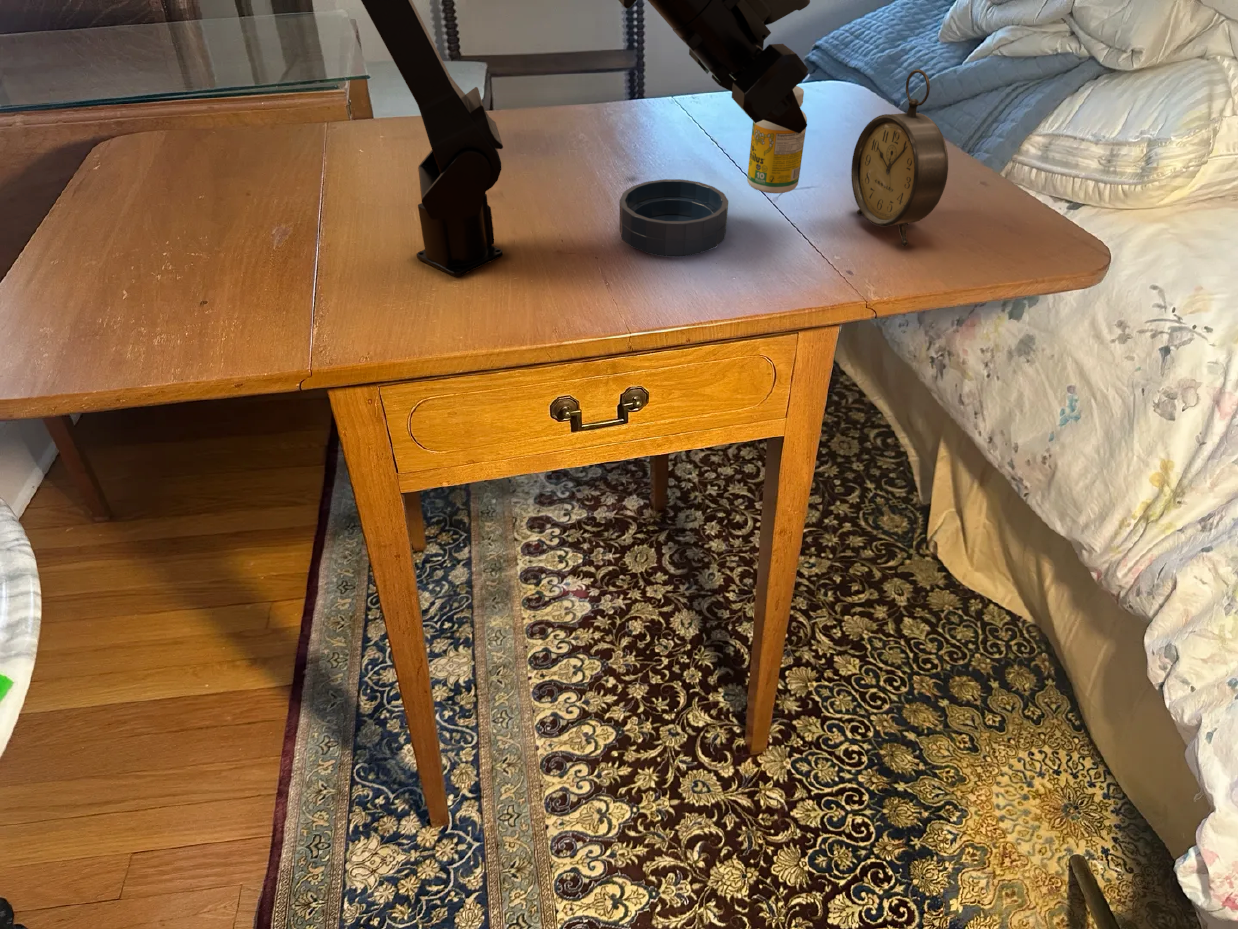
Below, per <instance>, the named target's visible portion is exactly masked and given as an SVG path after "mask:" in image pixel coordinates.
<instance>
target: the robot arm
mask: <svg viewBox="0 0 1238 929" xmlns="http://www.w3.org/2000/svg"><path fill="white" fill-rule="evenodd" d="M360 1H361V3H362V5H363V7H364V9H365V10H366V12H367V15H368V17H369V18H370V20H371V22H372V23H373V25H374V27H375V29H376V31H377V33H378V34H379V36H380V39H381V40H382V42H383V43H384V45H385V47H386V49H387V52H388V54H390V57H391V58H392V61H393V62H394V64H395V66H396V68H397V69H398V72H399V73H400V75H401V77H402V78H403V81H404V83H405V84H406V86H407V88H408V90H409V92H410V93H411V95H412V97H413V99H414V101H415V103H416V104H417V107H418V110H419V113H420V116H421V119H422V123H423V126H424V128H425V133H426V135H427V138H428V142H429V146H430V148H431V150H430V151H429V152H428V153H427V155H426V156H425V158H424V159H423V160H422V161H421V162H420V164H419V165H418V167H417V170H418V180H419V189H420V200H421V203H418V204H417V208H418V215H419V223H420V228H421V234H422V240H423V246H424V249H422V250H421V251H418V252H416V258H417V259H418V260H419V261H421V262H423V263H425V264H426V265H429V266H432V267H433V268H436V269H438V270H440V271H442V272H444V273H446V274H448V275H451V276H452V277H455V278H456V277H462V276H463V275H465V274H468V273H469V272H471V271H474V270H475V269H478V268H480V267H482V266H485V265H486V264H488V263H490V262H491V263H492V262H493V261H495V260H497V259H499V258H501V257H502V256H504V251H503V249H501V248H500V247H496V246H494V244H495V236H494V235H495V234H494V225H493V217H492V216H493V215H492V207H491V206H490V205H489V203H488V194H487V191H489V190H491V189H492V188H493V187H494V185H496V183H497V181H498V180H499V178H500V174H501V172H502V161H501V157H500V153H499V151H498V150H502V149H503V148H504V146H503V141H502V138H501V136H500V132H499V130H498V129H499V128H498V125H497V122H496V121H495V120H494V119H492V117H491V116H490V115H489V114H488V112H487V111H486V109H485V106H484V105H483V104H484V103H483V99H482V97H481V93H480V90H479V87H478V86H475V87H474V88H472V89H471V90H469V91H468V92H467V93H465V92H464V91H463V89H461V87H460V86H459V85H458V84H457V83H456V81H455V80H454V79H453V77H452V76H451V75H450V73H449V71H448V70H449V69H448V68H447V66H446V65H445V63H444V61H443V58H442V56H441V55H440V52H439V50H438V49H437V47H436V45H435V42H434V41H433V39H432V37H431V35H430V33H429V31H428V29H427V27H426V24H425V23H424V21H423V19H422V17H421V15H420V13H419V11H418V9H417V7H416V5H415V3H414V1H413V0H360ZM637 1H638V0H618V2H619V3H620V4H621V5H622V6H623V7H624V8H625V9H627V10H628V9H629V10H630V9H631V8H632V7H633V6H634V4H636V2H637ZM647 2H649V4H650V5H651V6H652V7H653V8H654V10H655V11H656V12H657V13H658V14H659V15H660V16H661V17H662V18H663V20H664V21H665V22H666V23H667V24H668V26H669V27H670V28H671V29H672V31H673V32H674V33H675V34H676V36H677V37H679V39H680V40H681V41H682V42H683V43H684V44H685V45H686V46H687V47H688V49H689V50H688V55H689V56H690V57H691V59H693V61H694V62H695V63H696V64H697V65H698V66H699V67H700V69H702V71H703V72H704V73H705V74H707V75H708V74H709V73H710V74H711V79H712V80H713V81H714V82H715V83H716V84H717V85H718V86H720V87H722V88H723V89H725V90H726V91H730V92H731V99H732V100H733V101H734V102H735V104H737V106H738V107H739V108H740V109H741V110H742V111H743V112H744V113H745V114H746V115H747V116H748V117H749V119H751V120H752V122H753V121H754V122H755V123H757V122H760V121H762V120H765V121H768V122H771V123H773V124H776V125H779V126H781V127H784V128H786V129H789V130H791V131H794V132H796V133H801V132H802V131H803V130H804V129H805V128H806V129H807V127H808V123H806V120H805V118H804V116H803V113H802V111H803V110H802V109H801V107H800V106H799V104H798V102H797V99H796V97H795V94H794V92H793V89H794V88H795V87H796V86H798V85H799V84H800V83H801V82H802V81H803V80H804V78H806V77H807V75H808V71H809V68H808V66H807V65H806V64H805V62H804V61H803V60H802V59H801V57H800V56H799V55H798V54H797V53H796V52H795V51H794V50H792V49H790V47H789V46H786V45H785V44H784V43H769V44H768V45H767V46H766V47H765V48H764V44H765V40H766V39H767V38H768V37H769V36H770V35H771V34H772V31H771V30H770V29H769V28H768V25H771V24H774V23H775V22H778V21H779V20H781V19H782V18H784V17H786V16H789V15H790V14H792V13H794V12H795V11H802V10H805V9H806V8H807V7H808V6H809V5H810V4H811V0H647ZM801 110H802V111H801Z"/></svg>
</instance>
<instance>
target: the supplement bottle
mask: <svg viewBox="0 0 1238 929" xmlns="http://www.w3.org/2000/svg"><path fill="white" fill-rule="evenodd" d="M793 92H794V94H795V97H796V99H797V102H798V104H799V106H800V108H801V107H802V106H803V103H804V95H805V90H804V89H803V88H802V87H800V86H798V85H797V86H796V87H795V88H794V89H793ZM801 111H802V113H803V116H804V118H805V120H806V123H807V122H808V117H807V114H806V113H805V112H804V111H803V110H802V109H801ZM807 124H808V123H807ZM806 131H807V127H806V128H805V129H804V130H803V131H802V132H801V133H796V132H794V131H791V130H789V129H786V128H784V127H781V126H779V125H776V124H773V123H771V122H768V121H765V120H762V121H760V122H757V123H755V122H754V121H753V120H752V128H751V138H750V148H749V156H748V157H749V158H748V167H747V176H746V181H747V184H748V185H749V186H750V187H751V188H752V189H754V190H757V191H759V192H763V193H767V194H785V193H789V192H792V191H793V190H795V189H796V188H797V186H798V185H799V181H800V180H799V179H800V174H801V167H802V159H803V152H804V145H805V138H806Z"/></svg>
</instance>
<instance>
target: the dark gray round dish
mask: <svg viewBox="0 0 1238 929" xmlns="http://www.w3.org/2000/svg"><path fill="white" fill-rule="evenodd" d="M618 206H619V233H620V236H621V240H623V241H624V242H625V243H626V244H627V245H629V246H630V247H632V248H633V249H636V250H639V251H641V252H643V253H647V254H650V255H654V256H659V257H666V258H680V257H690V256H694V255H699V254H702V253H705V252H707V251H710V250H713V249H715V248H717V247H718V246H719V245H720V244H721V243H723V242H724V241H725V238H726V234H727V226H728V224H727V222H728V212H729V199H728V198H727V196H726V195H725V193H724V192H723V191H721V190H719V189H718V188H716V187H715V186H712V185H710V184H706V183H703V182H700V181H695V180H688V179H679V178H678V179H676V178H673V179H672V178H671V179H670V178H669V179H667V178H666V179H665V178H664V179H658V180H656V179H655V180H649V181H645V182H642V183H638V184H635V185H632V186H631V187H629V188H628V189H626V190H625V191H624V192H622V194H621V196H620V198H619V204H618Z"/></svg>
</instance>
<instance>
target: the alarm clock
mask: <svg viewBox="0 0 1238 929" xmlns="http://www.w3.org/2000/svg"><path fill="white" fill-rule="evenodd" d="M915 74H921V75H922V76H923V78H924V80H925V84H926V92H925V96H924V97H923V99H922V100H921V101H920V102H919V100H918V99H917V98H911V95H910V90H909V88H910V86H909V85H910V81H911V79H912V77H914V75H915ZM930 91H931V83H930V78H929V75H928V74H927V73H926V72H925V71H924V70H922V69H920V68H919V69H918V68H916V69H914V70H912V71H911V72H910V73H909V74H908V75H907V78H906V81H905V94H906V97H907V100H908V106H909V107H908V109H907V111H906V112H905V113H904V112H903V113H891V114H889V113H885V114H881V115H877V116H875V117H874V118H873V119H871V120H870V121H869V122H868V123H867V124H866V125H865V127H864V128H863V130H862V131H861V133H860V134H859V137H858V139H857V141H856V144H855V146H854V150H853V154H852V159H851V170H850V172H851V173H850V174H851V175H850V177H851V188H852V192H853V196H854V200H855V203H856V205H857V207H858V209H857V210H856V215H858V216H861V215H862V216H864V218H865V219H866V220H867V221H868V222H870V223H871V224H872V225H875V226H878V227H882V228H884V227H890V226H891V227H892V226H898V230H899V231H898V232H899V234H900V237H901V246H903V247H907V245H908V244H909V241H908V240H907V232H908V230H907V226H908V225H909V224H913V223H916V222H919V221H921V220H923V219H925V218H926V217H927V216H929V215H930V214H931V213H932V212H933V210H934V209H935V208H936V207H937V205H938V204H939V202H940V201H941V198H942V196H943V194H944V191H945V189H946V185H947V181H948V176H949V152H948V148H947V143H946V141H945V138H944V135H943V133H942V131H941V130H940V128H939V127H938V125H937V123H935V122H934V120H933V119H931V117H928V116H927V115H925V114H923V113H919V112H917V109H918V107H919V106H920V107H921V106H922V105H923V104H924V103H926V102H927V100H928V98H929V96H930Z"/></svg>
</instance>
